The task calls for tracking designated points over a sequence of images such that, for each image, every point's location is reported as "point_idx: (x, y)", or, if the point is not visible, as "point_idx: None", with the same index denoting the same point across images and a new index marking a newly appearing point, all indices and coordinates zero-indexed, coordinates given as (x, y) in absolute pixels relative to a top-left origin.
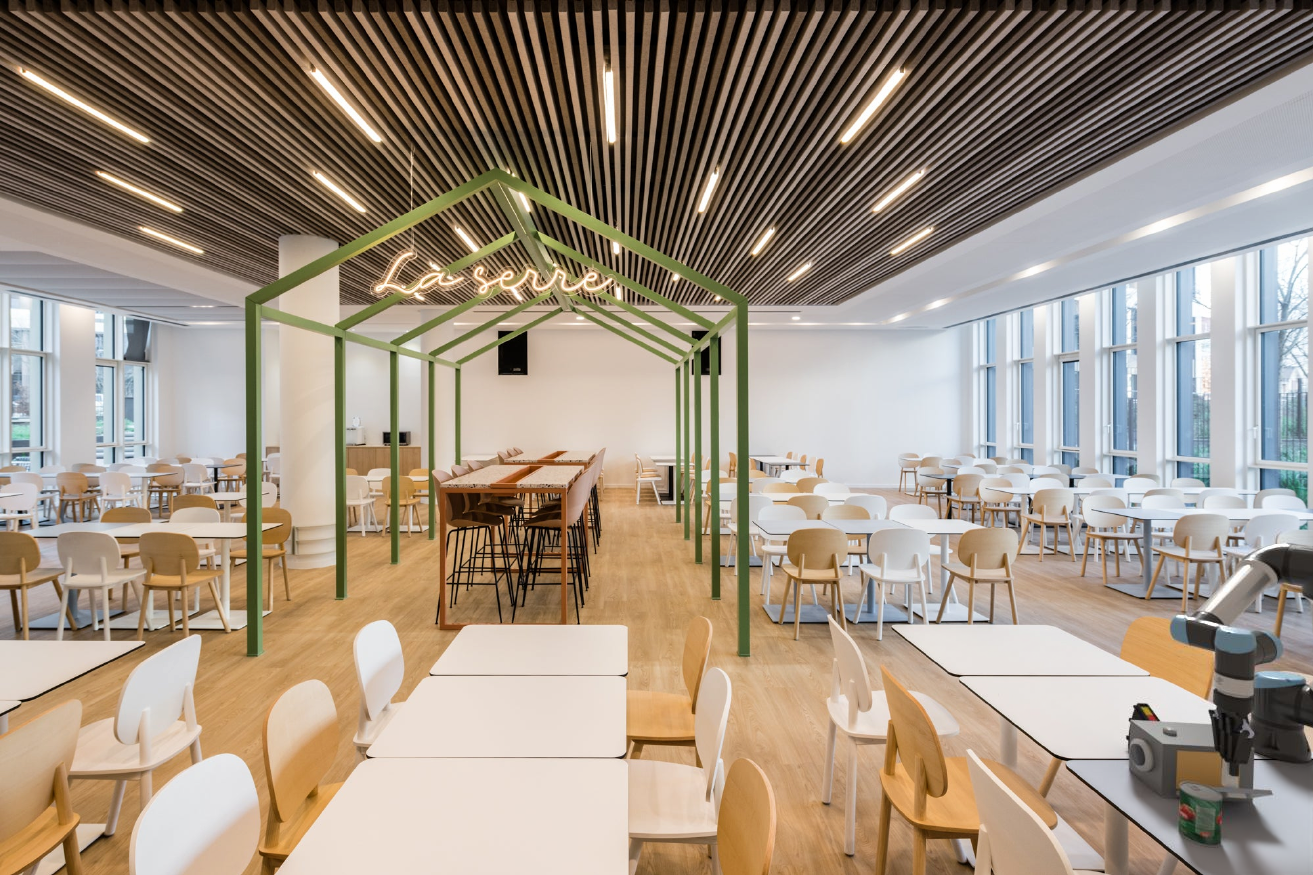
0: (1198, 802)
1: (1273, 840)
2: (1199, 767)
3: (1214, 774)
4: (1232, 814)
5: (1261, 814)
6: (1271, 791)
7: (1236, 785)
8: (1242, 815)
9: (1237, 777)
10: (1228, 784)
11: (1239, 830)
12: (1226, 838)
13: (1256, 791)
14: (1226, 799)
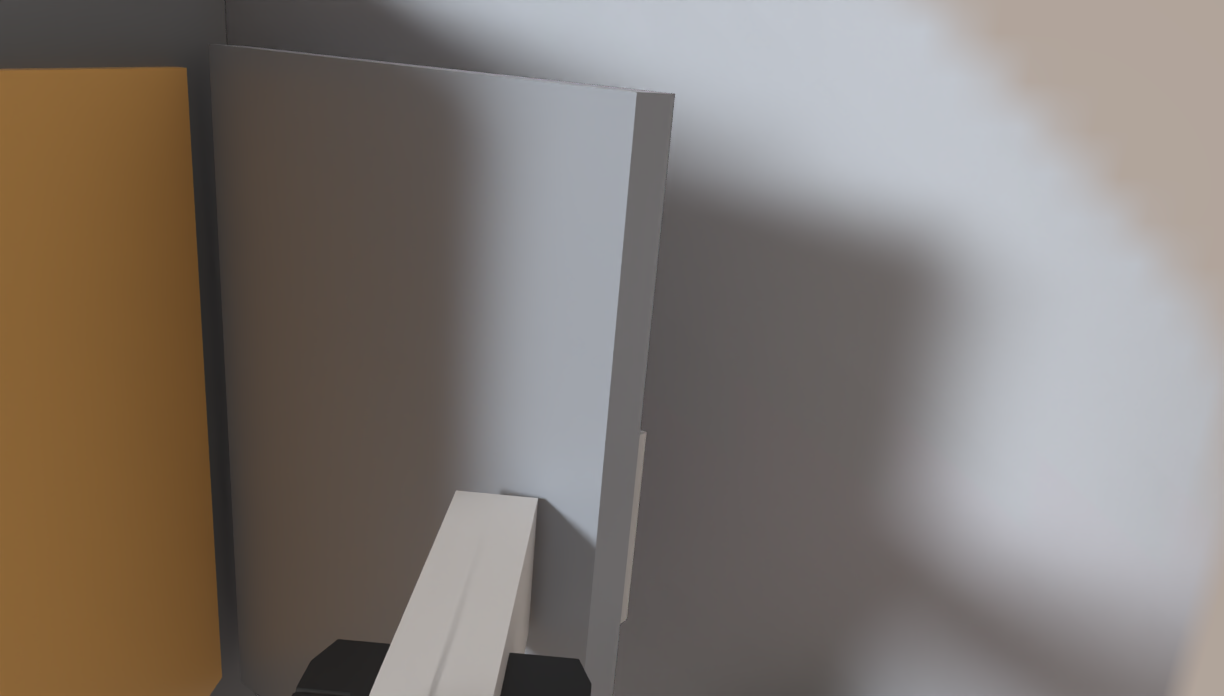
0: None
1: (904, 298)
2: (56, 641)
3: (92, 418)
4: None
5: (464, 15)
6: (646, 96)
7: (532, 530)
8: None
9: (519, 593)
10: (524, 628)
11: (746, 471)
12: (853, 659)
13: (634, 323)
14: None
